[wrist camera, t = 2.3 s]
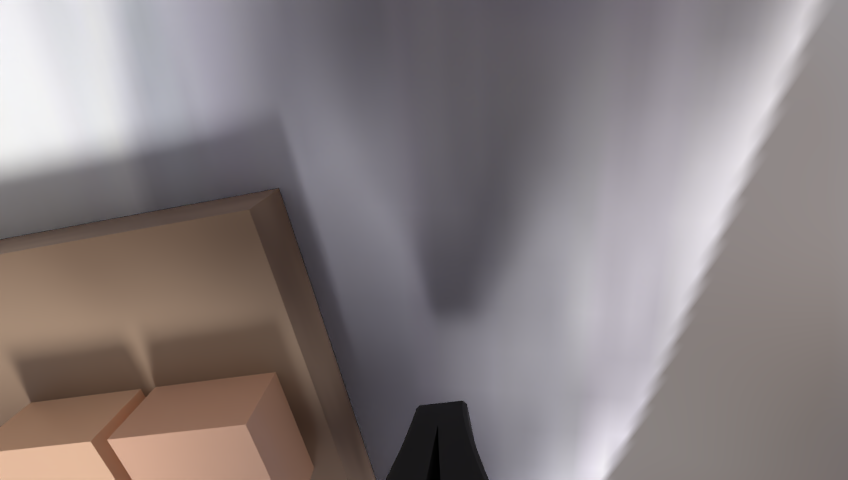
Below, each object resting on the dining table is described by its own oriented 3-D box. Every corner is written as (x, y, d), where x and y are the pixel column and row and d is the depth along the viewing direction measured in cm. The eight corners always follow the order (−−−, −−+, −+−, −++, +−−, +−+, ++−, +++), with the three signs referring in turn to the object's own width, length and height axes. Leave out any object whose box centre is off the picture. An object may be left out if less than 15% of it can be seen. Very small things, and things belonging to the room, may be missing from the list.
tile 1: (314, 467, 14) (293, 528, 12) (204, 477, 15) (169, 537, 13) (275, 371, 13) (245, 424, 11) (155, 387, 13) (107, 439, 11)
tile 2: (191, 479, 15) (154, 539, 13) (90, 488, 15) (39, 547, 13) (141, 388, 13) (90, 441, 11) (30, 402, 14) (-35, 455, 12)
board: (385, 509, 18) (378, 561, 16) (129, 529, 19) (95, 578, 17) (278, 188, 13) (249, 209, 11) (-59, 250, 14) (-136, 278, 12)
